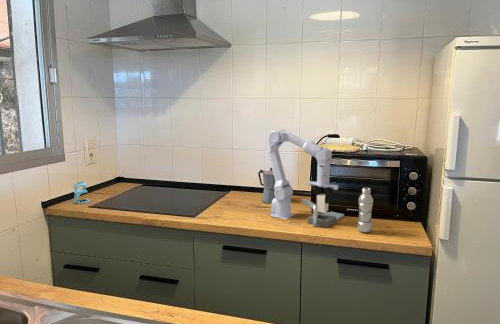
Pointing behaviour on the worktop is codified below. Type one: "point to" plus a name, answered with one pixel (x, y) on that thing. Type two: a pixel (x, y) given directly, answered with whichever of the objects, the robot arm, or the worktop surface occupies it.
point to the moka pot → (268, 185)
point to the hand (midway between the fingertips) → (322, 202)
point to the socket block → (323, 220)
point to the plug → (322, 203)
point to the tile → (338, 215)
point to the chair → (79, 192)
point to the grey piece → (315, 210)
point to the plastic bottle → (365, 210)
